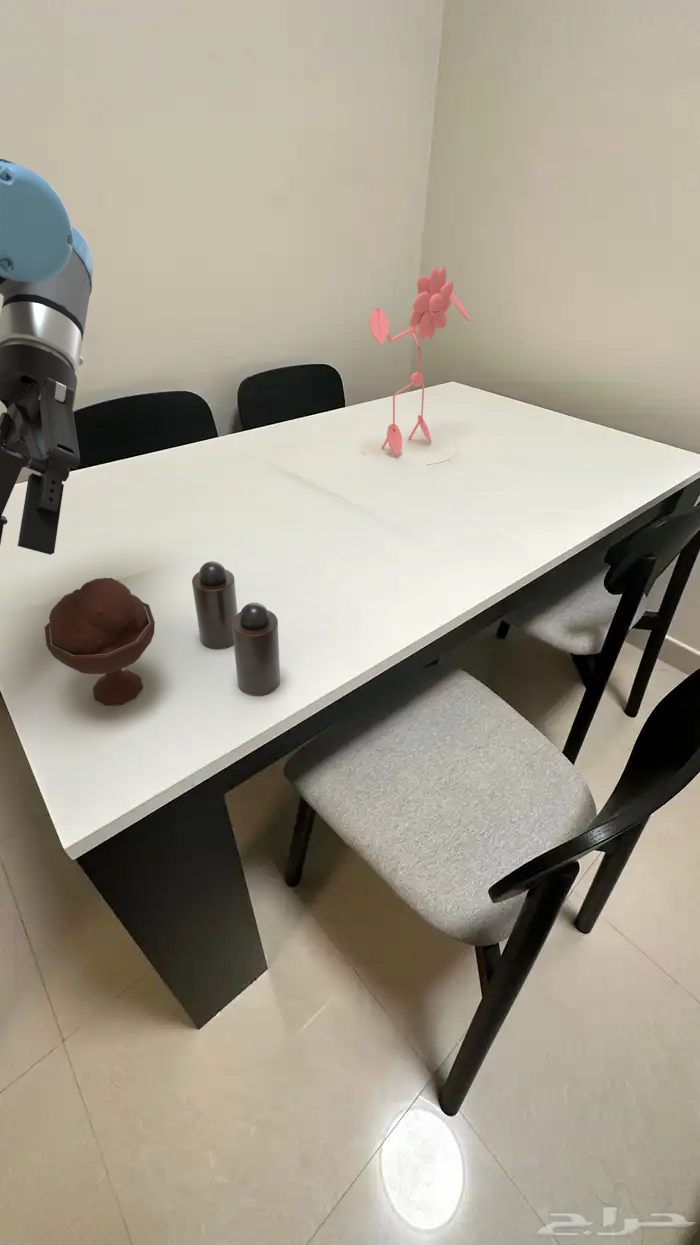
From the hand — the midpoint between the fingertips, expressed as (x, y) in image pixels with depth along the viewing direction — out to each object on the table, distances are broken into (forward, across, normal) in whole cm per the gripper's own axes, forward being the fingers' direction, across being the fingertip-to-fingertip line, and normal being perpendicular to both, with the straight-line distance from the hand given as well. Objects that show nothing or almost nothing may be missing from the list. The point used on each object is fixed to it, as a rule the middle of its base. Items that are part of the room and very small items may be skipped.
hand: (4, 565), depth 54 cm
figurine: (-49, +6, -79) cm, 93 cm away
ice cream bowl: (+10, +6, -16) cm, 19 cm away
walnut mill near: (+8, -5, -27) cm, 29 cm away
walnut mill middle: (+2, +2, -27) cm, 27 cm away
